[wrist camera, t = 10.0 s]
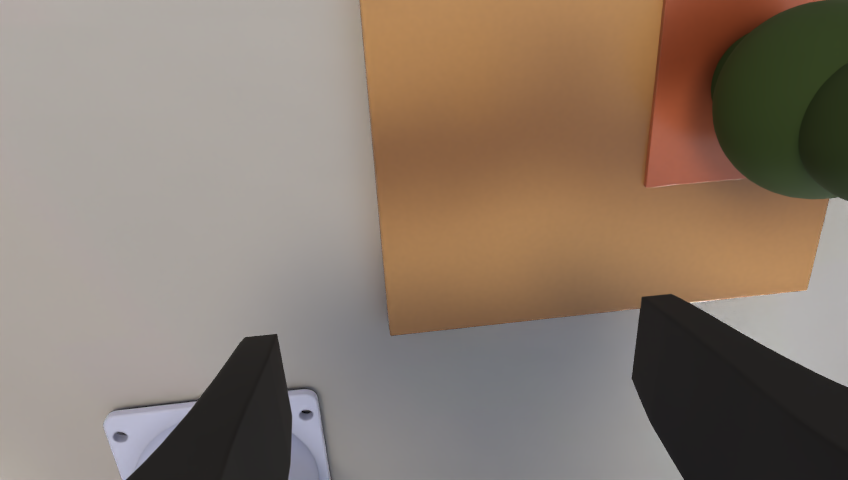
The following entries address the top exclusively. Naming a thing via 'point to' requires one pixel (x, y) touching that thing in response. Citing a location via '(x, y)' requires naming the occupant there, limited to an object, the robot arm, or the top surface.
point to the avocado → (788, 102)
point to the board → (565, 161)
